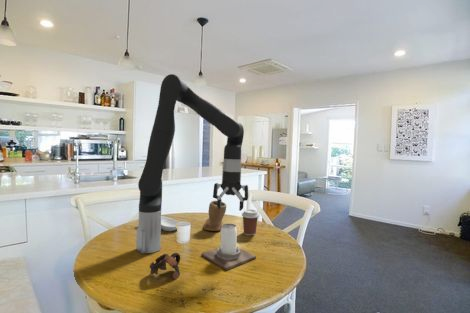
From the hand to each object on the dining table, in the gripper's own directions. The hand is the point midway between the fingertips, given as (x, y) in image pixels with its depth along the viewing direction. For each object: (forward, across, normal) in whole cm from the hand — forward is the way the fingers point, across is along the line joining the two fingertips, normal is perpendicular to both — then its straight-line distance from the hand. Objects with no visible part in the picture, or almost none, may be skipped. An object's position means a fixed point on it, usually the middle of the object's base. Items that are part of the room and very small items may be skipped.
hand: (230, 209), depth 104 cm
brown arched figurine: (+21, +19, +18) cm, 33 cm away
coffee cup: (+20, -7, -30) cm, 37 cm away
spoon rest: (+21, +42, -28) cm, 54 cm away
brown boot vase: (+20, +13, -35) cm, 42 cm away
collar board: (+20, 0, 0) cm, 20 cm away
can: (+19, 0, 0) cm, 19 cm away
